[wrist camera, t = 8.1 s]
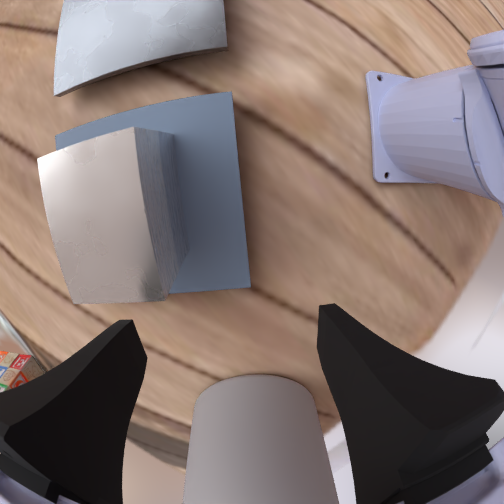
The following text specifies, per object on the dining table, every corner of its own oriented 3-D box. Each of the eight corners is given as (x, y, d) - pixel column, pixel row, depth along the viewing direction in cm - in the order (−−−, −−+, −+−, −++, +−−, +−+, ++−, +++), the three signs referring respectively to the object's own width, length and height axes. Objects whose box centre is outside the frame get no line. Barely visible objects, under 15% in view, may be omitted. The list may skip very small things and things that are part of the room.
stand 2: (232, 98, 15) (231, 91, 13) (250, 273, 19) (250, 287, 17) (70, 135, 15) (55, 135, 13) (101, 285, 19) (90, 297, 17)
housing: (173, 134, 14) (133, 126, 8) (189, 249, 16) (165, 300, 11) (98, 151, 14) (37, 158, 8) (118, 256, 16) (73, 303, 11)
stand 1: (219, -54, 10) (217, -68, 8) (228, 56, 14) (227, 46, 12) (80, -14, 10) (69, -22, 8) (68, 98, 14) (53, 95, 12)
